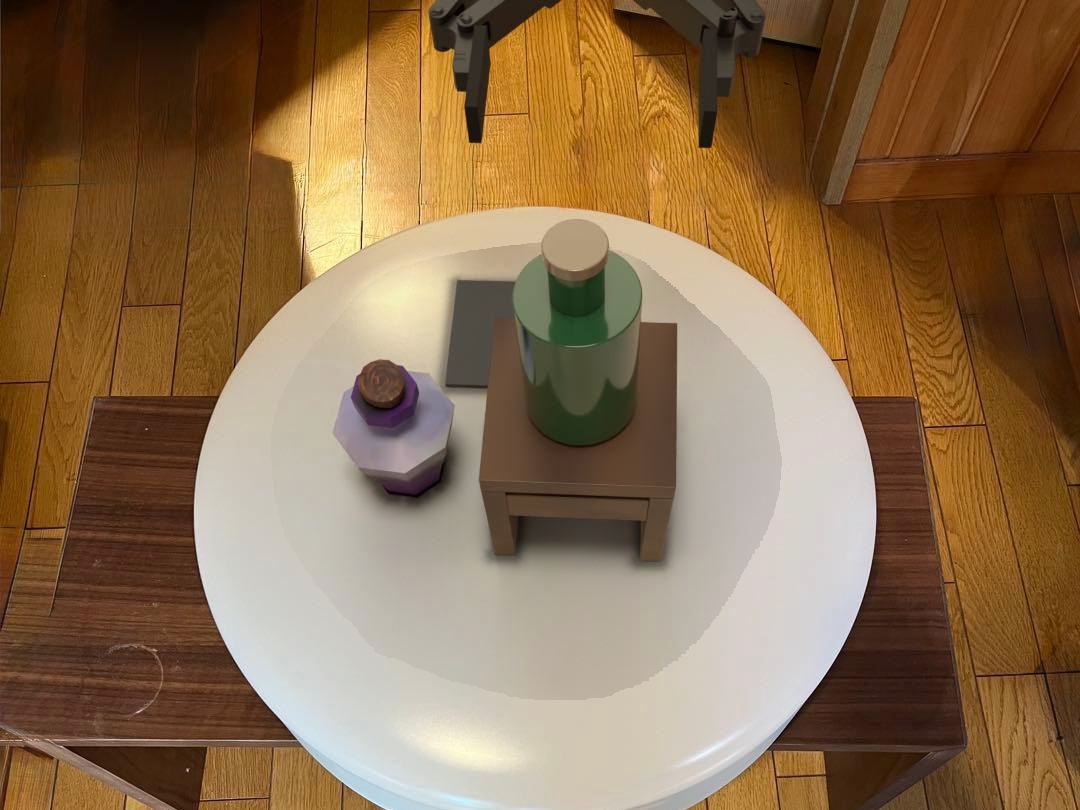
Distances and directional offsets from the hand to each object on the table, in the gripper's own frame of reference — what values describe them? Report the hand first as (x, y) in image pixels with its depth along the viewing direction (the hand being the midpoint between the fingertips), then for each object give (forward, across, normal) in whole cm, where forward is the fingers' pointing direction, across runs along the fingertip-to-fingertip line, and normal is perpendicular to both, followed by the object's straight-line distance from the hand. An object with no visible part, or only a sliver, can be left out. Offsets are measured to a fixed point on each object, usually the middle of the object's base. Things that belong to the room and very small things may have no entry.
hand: (589, 128), depth 56 cm
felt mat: (-1, +6, -22) cm, 23 cm away
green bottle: (+12, 0, -10) cm, 16 cm away
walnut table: (+12, 0, -22) cm, 25 cm away
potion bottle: (+11, +13, -23) cm, 28 cm away
